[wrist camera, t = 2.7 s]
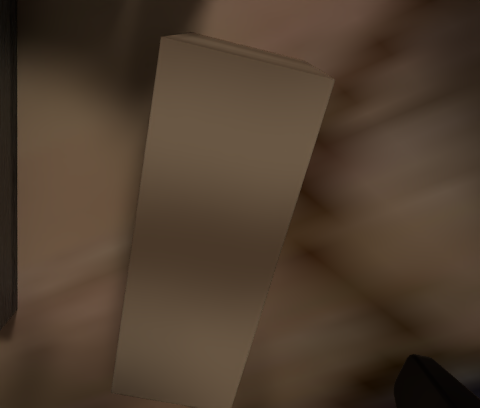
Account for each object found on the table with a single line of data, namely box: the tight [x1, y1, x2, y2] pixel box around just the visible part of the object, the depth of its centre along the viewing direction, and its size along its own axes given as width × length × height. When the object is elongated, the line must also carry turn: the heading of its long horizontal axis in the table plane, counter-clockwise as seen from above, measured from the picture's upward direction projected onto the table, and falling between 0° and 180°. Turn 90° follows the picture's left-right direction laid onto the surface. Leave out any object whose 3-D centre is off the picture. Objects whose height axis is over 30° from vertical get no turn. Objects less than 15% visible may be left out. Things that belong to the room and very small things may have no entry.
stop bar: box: [111, 32, 335, 408], centre depth 12 cm, size 10×4×5 cm, turn 167°
